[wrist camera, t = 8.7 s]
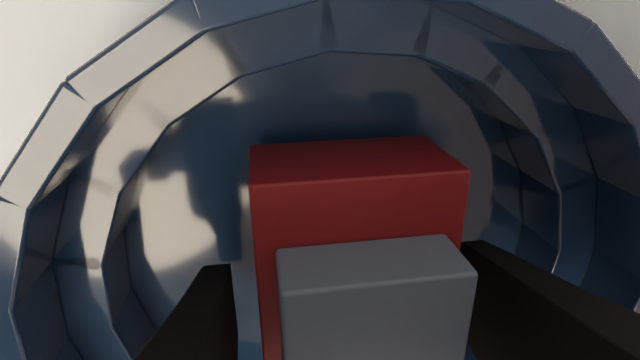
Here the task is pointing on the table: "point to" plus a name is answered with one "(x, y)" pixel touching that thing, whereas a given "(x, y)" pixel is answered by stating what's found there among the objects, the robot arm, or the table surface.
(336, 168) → the red block grey top
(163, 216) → the bowl
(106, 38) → the table surface
